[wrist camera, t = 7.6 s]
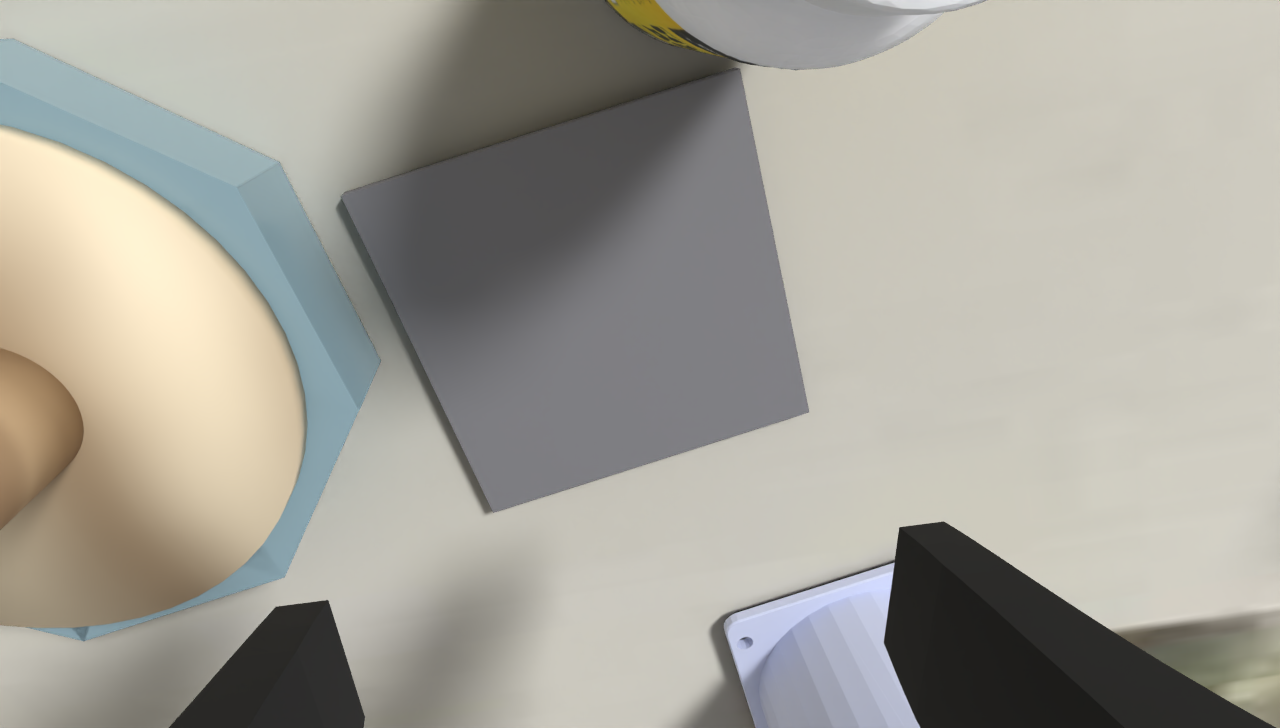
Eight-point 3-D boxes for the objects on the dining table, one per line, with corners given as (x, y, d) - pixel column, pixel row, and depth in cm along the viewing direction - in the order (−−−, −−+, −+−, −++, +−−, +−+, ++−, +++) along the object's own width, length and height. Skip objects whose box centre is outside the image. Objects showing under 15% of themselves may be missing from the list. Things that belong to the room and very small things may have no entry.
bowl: (438, 472, 19) (426, 532, 17) (10, 608, 19) (-58, 686, 17) (188, -18, 14) (121, -24, 12) (-407, 173, 14) (-588, 203, 12)
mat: (804, 405, 20) (809, 412, 20) (493, 503, 20) (493, 512, 20) (735, 67, 16) (740, 68, 15) (345, 192, 16) (340, 196, 15)
